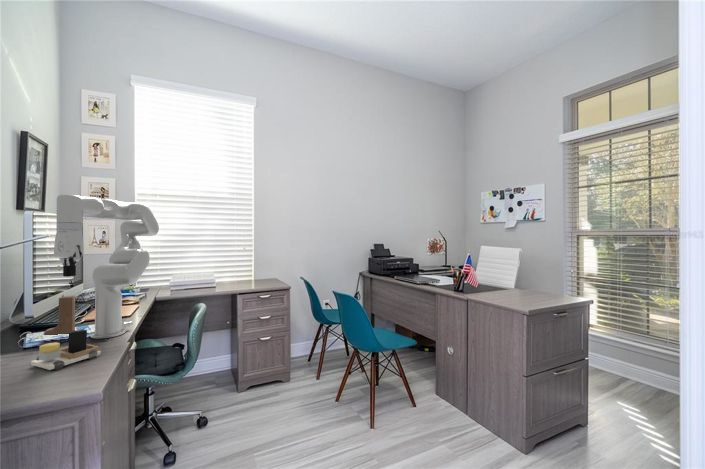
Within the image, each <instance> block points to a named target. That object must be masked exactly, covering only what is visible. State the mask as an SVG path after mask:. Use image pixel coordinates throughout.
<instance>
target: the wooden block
mask: <svg viewBox="0 0 705 469" xmlns="http://www.w3.org/2000/svg"><path fill="white" fill-rule="evenodd" d="M74 330H76V296H75V295H64V296H63V295H62V296H61V297H59V298H58V321H57V325H56V326H55V327H51V328H47V329H46V330H45V331H44V332H43V336H44V335H58V334H69V332H71V331H74Z"/></svg>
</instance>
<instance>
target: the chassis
mask: <svg viewBox="0 0 705 469" xmlns="http://www.w3.org/2000/svg"><path fill="white" fill-rule="evenodd" d="M60 350H61V354H60V357H59V358H55V359H52V360H48V361H43V360H39V356H38V357H36V359H33V360H31V361H30V365H31V366H35V367H38V368H41V369H45V370H48V371H51V370H57V371H59V370H61V369H62V368H64V367H65V366H67V365H71V364H74V363H76V362H80V361H82V360H86V359H90V360H93V359H95V358H96V357H97V356H99V355H101V354H102V352H101V351H102V350H100V345H94V344H89V343H86V350H83V351H80V352H76V353H73V354H72V353H68V346H67V347H63V348H60Z"/></svg>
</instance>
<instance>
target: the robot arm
mask: <svg viewBox="0 0 705 469" xmlns="http://www.w3.org/2000/svg"><path fill="white" fill-rule="evenodd" d="M84 217H85V218H95V219H106V220H107V219H108V220H109V219H110V220H119V221H121V220H122V223H121V224H120V227H119V228H120V236H121V237H120V238H121V242H120V244H118V246H117V247H116V249H114V250H113V252H112V253H111V255H110V256H109V258H108V263H103V264H99V265H97V266H95V268H94V269H93V270H92V281H93V284H94V285H93V286H94V293H95V294H94V295H95V296H94V299H95V300H94V303H95V304H94V307H95V308H94V332H95V334H92V335H90V338H91V339H98V340H99V339H109V338H115V337H119V336H121V335H123V334H125V333H126V331H127V330H126V327H129V326H132V325H133V321H131V320H130V321H123V320H122V319H123V318H122V317H123V316H122V315H123V312H122V310H123V300H122V299H123V293H122V290H121V289H120V287H119V286H132V285H135V284H136V283H137V282H138V281H139V280H140V278H141V277H142V276H143V274H144V272H145V270H146V269H147V268H148V265H149V264H150V257H151V256H150V254H149V253H150V252H148V251H147V250H146V249H144V248H141V244H140V242H139V240H138V239H137V237H154V236H156V235H157V234H158V233H159V231H160V227H159V223H158V220H157V219H156V217H155V215H154V213H153V212H152V210H151V209H150V208H149V206H148V205H147V204H146V203H144V202H127V201H126V202H125V201H119V200H113V199H101V198H100V199H99V198H97V197H94V196H82V195H81V196H80V195H77V194H59V195H57V196H56V224H55V225H56V226H55V227H56V229H55V231H56V233H55V238H54V248H53V256H54V257H55V258H58V259H59V261H61V263H62V267H63V268H62V269H63V270H62V276H63V277H65V278H66V277H67V278H68V277H75V276H76V274H77V264H78V262H79V261H80V260H81V257H83V256H84V236H83V232H84Z"/></svg>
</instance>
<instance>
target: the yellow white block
mask: <svg viewBox="0 0 705 469" xmlns="http://www.w3.org/2000/svg"><path fill="white" fill-rule="evenodd" d="M60 349H61V343H60V342H58V341H54V342H47V343H44V344H41V345H40V346H39V352H38V357H39V360H43V361H48V360H52V359H55V358H59V357H60V354H61V350H60Z"/></svg>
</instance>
